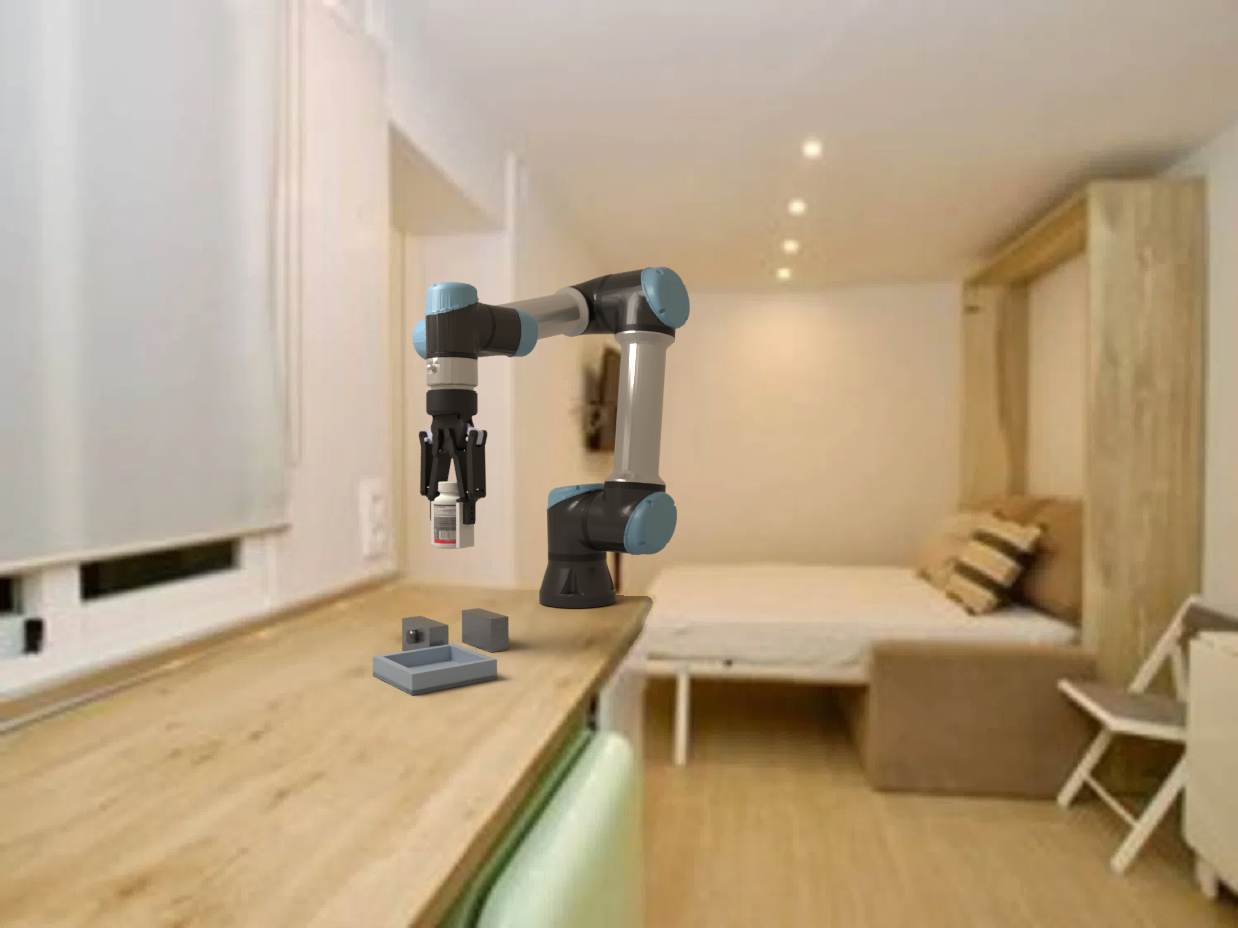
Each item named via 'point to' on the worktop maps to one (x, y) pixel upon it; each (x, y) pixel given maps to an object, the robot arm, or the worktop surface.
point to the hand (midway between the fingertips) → (452, 545)
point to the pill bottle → (445, 515)
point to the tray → (434, 668)
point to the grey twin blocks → (476, 631)
